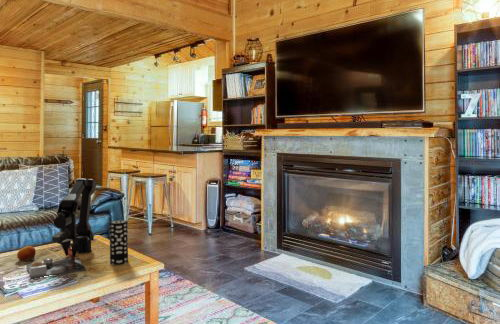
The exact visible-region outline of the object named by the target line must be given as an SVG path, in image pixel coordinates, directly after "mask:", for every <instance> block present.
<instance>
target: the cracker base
mask: <svg viewBox="0 0 500 324" xmlns="http://www.w3.org/2000/svg"><path fill="white" fill-rule="evenodd" d="M54 260H55V259H53V261H54ZM32 264H33V263H26V269H27V268H28V269H27V271H29V272H28V274H30V275H29V277H31V278H30V280H31V279H33V280H36V279H35V278H39V279H41V278H40V277H44V276H49V275H57V276H61V275H60V274H63V275H67V274H75V273H79V272H86V271H87V267H86V266H85V265H84V264H83V263H82V261H81V260H80V259H79V257H78V256H75V260H70V261H67V262H63V263H59V264H56V265H52V266H50V267H46V265H43V266H37V267H31V265H32Z"/></svg>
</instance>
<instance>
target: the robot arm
mask: <svg viewBox="0 0 500 324" xmlns="http://www.w3.org/2000/svg"><path fill="white" fill-rule="evenodd" d="M96 187H97V181H96V180H95V179H93V178H86V177H84V178H83V177H82V178H76V179H75V183H74V185H73V186H72V188H71V190H70V191H69V193H68V195H66V196H64V197H63V198H62V199H61V200H60V202H59V206H58V208H57V212H56V214H57V216H56V218H54V220H53V225H54V227H55V228H56V229H60V231H58V232H56V233H55V234H53V235H52V236H51V240H52V241H51V242H54V243H55V244H56V243H57V244H59V245H61V248H62V250H63V252H64V255H65V257H68V248H70V247H72V255H73V257H77V256H76V255H77V254H86V253H91V252H93V250H92V241H94V240H95V239H94V238H95V235H94V233H93V231H92V226H91V224H90V221H89V220H90V211H91V203H92V202H91V201H92V200H91V199H92V195H93V194H94V192H95V191H96ZM80 197H81V198H80ZM79 199H81V201H80V204H79ZM79 205H80V207H79ZM78 209H79V218H78V222H77V220H76V217H77V216H76V214H77V210H78ZM71 242H72V243H71Z"/></svg>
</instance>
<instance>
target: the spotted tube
mask: <svg viewBox="0 0 500 324" xmlns="http://www.w3.org/2000/svg"><path fill="white" fill-rule="evenodd" d="M128 222H129V221H128V220H123V219H120V220H119V219H118V220H117V219H116V220H111V221H109V264H110V265H111V266H112V265H113V266H121V265H125V264H128V263H129V243H128V242H129V236H128V235H129V233H128V232H129V231H128V230H129V229H128V228H129V227H128V226H129V225H128Z"/></svg>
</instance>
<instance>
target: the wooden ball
mask: <svg viewBox="0 0 500 324" xmlns="http://www.w3.org/2000/svg"><path fill="white" fill-rule="evenodd" d="M31 264H32V265H31V267H37V266H43V265H44V264H43V263H42V261H41V260H40V261H39V260H36V261H34V262H33V263H31Z"/></svg>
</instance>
